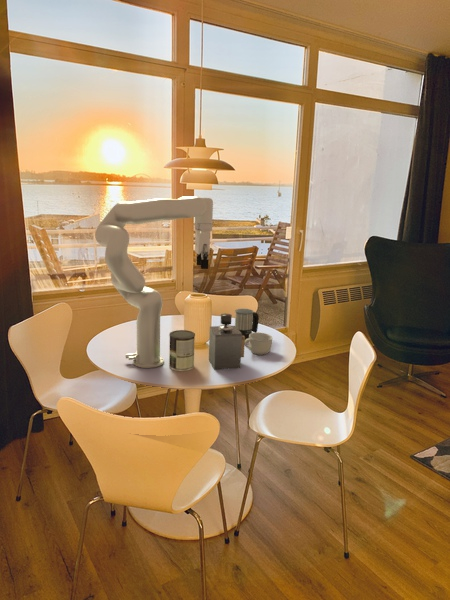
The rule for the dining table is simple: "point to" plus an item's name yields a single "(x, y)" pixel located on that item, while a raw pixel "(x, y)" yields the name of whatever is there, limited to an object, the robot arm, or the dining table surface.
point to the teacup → (259, 343)
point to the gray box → (226, 348)
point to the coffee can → (181, 350)
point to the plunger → (226, 322)
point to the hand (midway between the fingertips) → (202, 266)
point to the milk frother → (246, 321)
